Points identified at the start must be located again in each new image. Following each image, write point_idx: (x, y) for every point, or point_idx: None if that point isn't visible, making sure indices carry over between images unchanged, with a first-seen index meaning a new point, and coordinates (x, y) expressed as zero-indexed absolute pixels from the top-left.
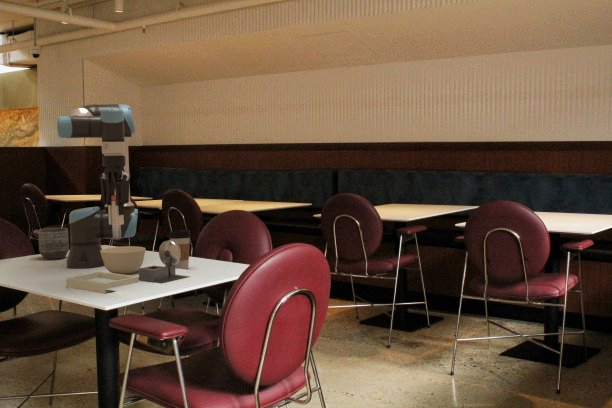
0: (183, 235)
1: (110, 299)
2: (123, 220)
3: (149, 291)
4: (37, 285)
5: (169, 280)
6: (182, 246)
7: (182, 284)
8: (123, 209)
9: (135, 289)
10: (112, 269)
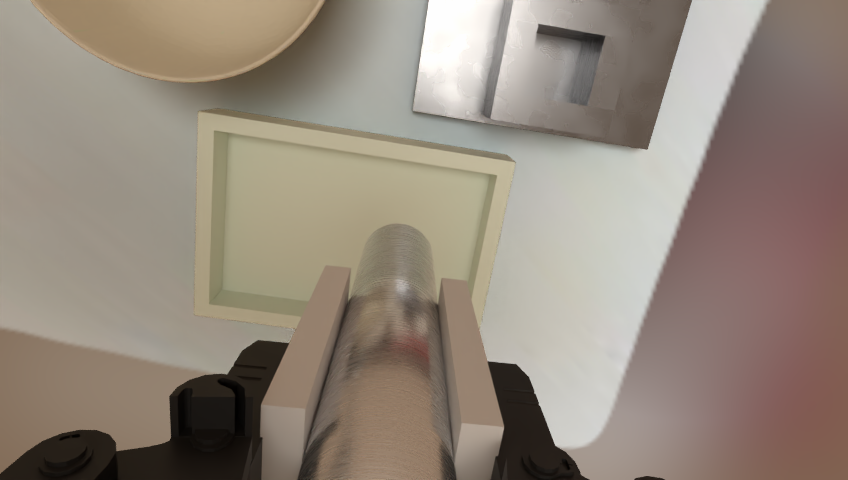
0: None
1: (554, 393)
2: (470, 299)
3: (621, 228)
4: (47, 304)
5: (647, 65)
6: None
7: (698, 29)
8: (538, 423)
9: (535, 216)
10: (234, 49)
